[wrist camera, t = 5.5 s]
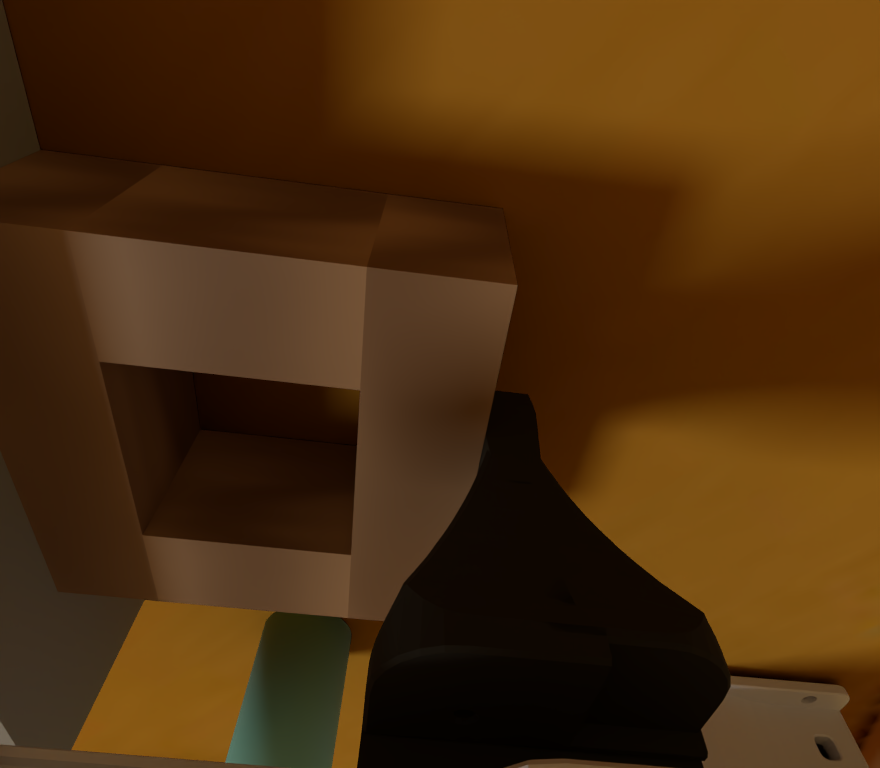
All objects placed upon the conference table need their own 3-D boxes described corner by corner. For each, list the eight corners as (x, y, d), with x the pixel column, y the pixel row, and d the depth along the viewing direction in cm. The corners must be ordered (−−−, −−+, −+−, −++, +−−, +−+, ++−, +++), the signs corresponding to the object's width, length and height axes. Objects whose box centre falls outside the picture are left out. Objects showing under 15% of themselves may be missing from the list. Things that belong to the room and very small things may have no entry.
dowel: (353, 610, 20) (311, 872, 14) (350, 660, 22) (312, 911, 16) (262, 602, 20) (183, 864, 14) (266, 653, 21) (198, 904, 16)
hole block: (502, 208, 12) (517, 285, 9) (445, 515, 17) (444, 626, 14) (40, 149, 11) (-98, 210, 9) (126, 483, 17) (57, 591, 14)
